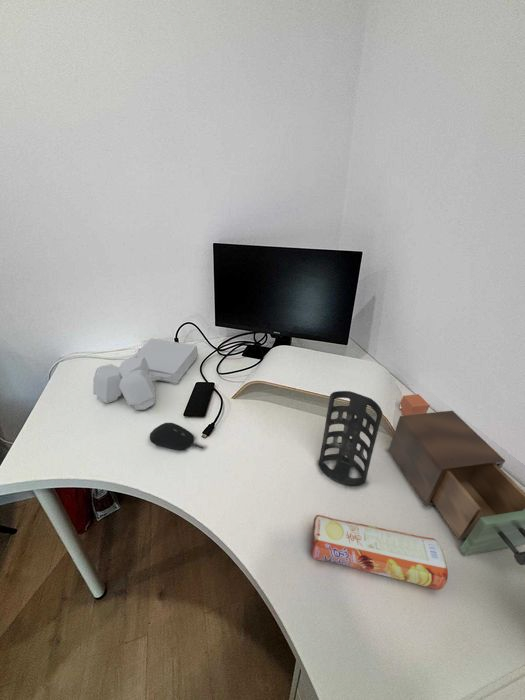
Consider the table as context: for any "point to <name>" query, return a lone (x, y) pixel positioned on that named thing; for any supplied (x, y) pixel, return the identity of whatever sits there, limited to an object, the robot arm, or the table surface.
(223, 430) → the table surface
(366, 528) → the snack package
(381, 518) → the table surface
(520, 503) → the drawer
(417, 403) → the block
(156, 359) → the game console
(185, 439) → the gaming mouse
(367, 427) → the holder
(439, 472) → the cabinet
